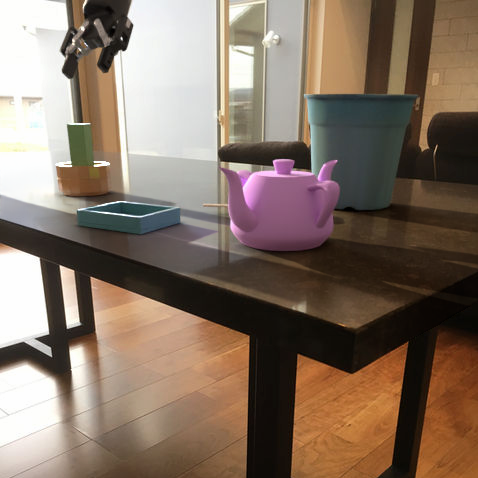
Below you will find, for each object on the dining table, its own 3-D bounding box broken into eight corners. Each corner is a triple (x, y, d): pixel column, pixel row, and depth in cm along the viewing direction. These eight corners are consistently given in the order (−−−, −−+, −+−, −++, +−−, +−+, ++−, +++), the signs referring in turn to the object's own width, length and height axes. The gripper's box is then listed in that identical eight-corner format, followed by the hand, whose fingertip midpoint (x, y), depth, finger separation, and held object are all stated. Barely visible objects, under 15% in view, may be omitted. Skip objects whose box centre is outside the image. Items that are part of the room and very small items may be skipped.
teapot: (219, 253, 53) (218, 164, 50) (238, 226, 66) (238, 153, 63) (336, 257, 52) (343, 166, 49) (332, 229, 65) (337, 155, 61)
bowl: (48, 194, 91) (44, 164, 89) (85, 188, 98) (82, 160, 96) (86, 198, 87) (83, 167, 85) (122, 191, 94) (120, 163, 92)
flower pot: (418, 214, 74) (434, 92, 68) (303, 213, 75) (310, 91, 69) (390, 197, 89) (401, 95, 83) (295, 196, 90) (299, 95, 84)
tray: (77, 225, 66) (76, 209, 65) (121, 215, 73) (120, 200, 72) (140, 234, 62) (139, 217, 61) (180, 222, 68) (180, 207, 67)
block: (73, 190, 91) (66, 123, 87) (81, 188, 94) (74, 123, 90) (90, 190, 91) (83, 123, 87) (97, 188, 94) (90, 123, 89)
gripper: (67, -11, 95) (40, 63, 92) (127, -28, 88) (100, 51, 85) (95, 21, 102) (70, 91, 98) (152, 8, 95) (128, 82, 91)
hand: (84, 72), depth 91 cm, fingers open, 8 cm apart
